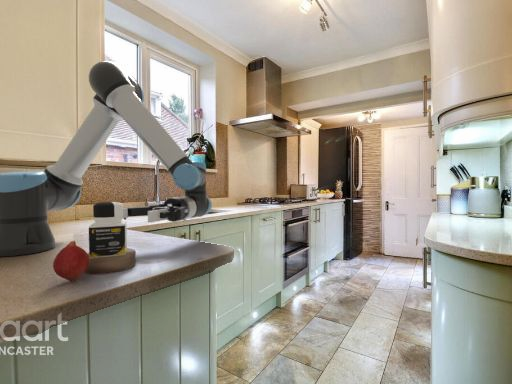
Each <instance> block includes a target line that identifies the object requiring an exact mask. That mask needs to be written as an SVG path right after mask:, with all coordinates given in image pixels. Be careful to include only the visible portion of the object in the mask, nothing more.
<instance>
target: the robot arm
mask: <svg viewBox="0 0 512 384" xmlns="http://www.w3.org/2000/svg"><path fill="white" fill-rule="evenodd" d="M88 82H89V86H90V88H91V89H92V91H93V92H94V93H95V95H94V96H93V97H92V101H93V104H94V105H93V108H92V109H91V111H89V113H88V115H87V116H86V118H85V119H84V121H83V122H82V124H81V125H80V127H79V129H77V131H76V133H75V134H74V136H73V137H72V138H71V140H70V142H69V143H68V144H67V146H66V148H65V149H64V150H63V152H62V154H61V155H60V156H59V157H58V159H57V161H56V162H55V164H50V165H47V166H46V167H45V169H44V170H43V171H39V170H37V171H35V170H34V171H31V170H30V171H12V172H11V171H10V172H2V173H0V257H15V256H22V255H30V254H36V253H41V252H46V251H49V250H52V249H54V248H55V247H56V238H55V236H54V233H53V232H52V229H51V227H50V225H49V221H48V212H52V211H54V212H55V211H56V212H58V211H63V210H66V209H69V208H72V207H73V206H75V205H76V204H77V203H78V202H79V201H80V199H81V195H82V189H81V187H82V186H83V184H84V181H83V176H84V175H85V173H86V171H87V170H88V168H89V166H91V163H92V162H93V161H94V159H95V157H96V156H97V155H98V154H99V152H100V151H101V149H102V147H103V146H104V145H105V143H106V141H107V140H108V138H109V137H110V135H111V134H112V132H113V131H114V130H115V128H116V126H117V125H118V123H119V122H120V121H124V122H125V123H126V124H127V125H128V127H130V129H131V130H132V131H133V132H134V134H136V135H137V137H138V138H139V139H140V140H141V142H142V143H143V144H144V145H145V146H146V148H147V149H148V150H149V151H150V152H151V153H152V154H153V156H154V157H155V158H156V159H157V161H158V162H160V163H161V165H162V166H163V167H164V168H165V169H166V171H167V172H168V173H169V174H170V177H172V179H173V182H174V184H175V185H176V186H177V187H178V188H179V189H182V190H184V196H178V197H168V198H167V199H165V201H164V202H163V203H158V204H152V205H151V204H150V205H145V206H144V205H143V206H130V207H128V206H127V207H124V206H123V221H126V220H127V218H129V217H130V218H131V217H132V218H133V217H147V223H155V222H160V221H165V220H166V221H168V222H174V223H175V222H179V221H183V222H186V221H187V220H188V219H194V218H199V217H200V218H201V217H203V216H205V215H208V214H209V213H210V212H211V210H212V205H213V204H212V201H211V199H210V197H208V196H207V167H206V163H205V162H204V161H192V160H191V159H190V158H189V156H187V154H186V153H185V152H184V150H183V149H182V148H181V147H180V146H179V144H178V143H177V142H176V141H175V140H174V139H173V138H172V136H171V135H170V134H169V132H167V130H166V128H164V127H163V125H162V124H161V123H160V122H159V120H158V119H157V118H156V117H155V115H153V114H152V112H151V111H150V110H149V108H147V106H146V104H144V100H145V98H144V97H145V94H144V91H143V88H142V87H141V86H140V84H139V82H138V81H137V80H135V78H134V77H132V75H130V73H129V72H127V71H126V69H125V68H124V67H122V66H121V65H120V64H118V63H116V62H113V61H109V60H105V61H104V60H102V61H99V62H97V63H95V64H94V65H92V66H91V68H90V70H89V72H88Z"/></svg>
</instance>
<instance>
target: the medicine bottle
mask: <svg viewBox="0 0 512 384" xmlns="http://www.w3.org/2000/svg"><path fill="white" fill-rule="evenodd" d="M123 207H124V205H123V203H121V202H119V201H102V202H97V203H94V205H92V208H93V212H92V213H93V215H92V216H93V217H92V218H93V221H94V222H93V223H91V224H90V225H89V226H88V248H89V249H88V253H89V258H90V259H92V258H102V257H112V256H122V255H125V254H126V250H127V248H128V240H127V239H128V238H127V237H128V233H127V232H128V231H127V221H126V220H124V218H123Z"/></svg>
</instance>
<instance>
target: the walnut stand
mask: <svg viewBox="0 0 512 384" xmlns="http://www.w3.org/2000/svg"><path fill="white" fill-rule="evenodd" d="M86 253H87V254H88V256H89V252H86ZM136 265H137V252H136V250H135V249H133V248H128V247H127V250H126V254H125V255H122V256H112V257H102V258H92V259H90V258H89V265H88V267H87V270H86V271H85V272H84V273H83V274H88V275H105V274H106V275H107V274H114V273H117V272H118V273H119V272H123V271H127V270H128V269H131V268H133V267H135V266H136Z"/></svg>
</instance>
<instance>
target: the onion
mask: <svg viewBox="0 0 512 384" xmlns="http://www.w3.org/2000/svg"><path fill="white" fill-rule="evenodd" d="M86 251H87V250H85V249H83V248H82V247H81V246H79V245H77V244H76V241H75V240H71V241H69V243H68V244H66V246H64V247H63V248H62V249H61V250H60V251H59V252H58V253H57V254H56V256H55V258H54V260H53V264H52V267H53V272H54V273H55V274H56V275H57V276H58V277H59V278H61V279H64V280H67V281H68V282H75V281H77V280H78V279H79V278H80V277H81V276H82V275H84V274H85V273H84V272H85V271H86V270H87V267H88V265H89V256H88V254H87V253H88V252H86Z"/></svg>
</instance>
